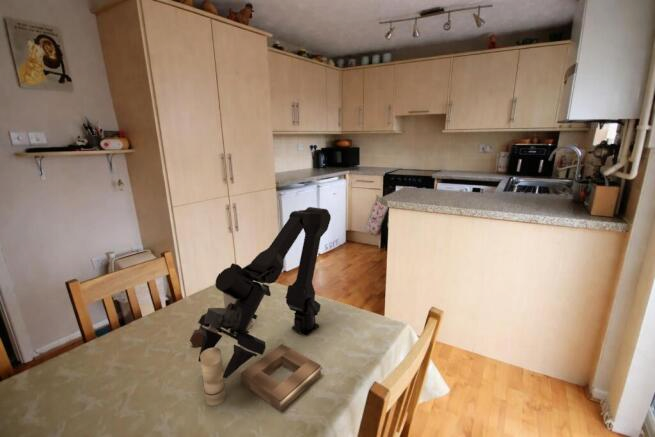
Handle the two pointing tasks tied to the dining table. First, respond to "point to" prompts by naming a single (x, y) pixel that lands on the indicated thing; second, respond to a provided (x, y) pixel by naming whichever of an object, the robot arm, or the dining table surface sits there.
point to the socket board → (288, 389)
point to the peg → (213, 376)
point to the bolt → (197, 338)
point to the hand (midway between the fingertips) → (211, 369)
